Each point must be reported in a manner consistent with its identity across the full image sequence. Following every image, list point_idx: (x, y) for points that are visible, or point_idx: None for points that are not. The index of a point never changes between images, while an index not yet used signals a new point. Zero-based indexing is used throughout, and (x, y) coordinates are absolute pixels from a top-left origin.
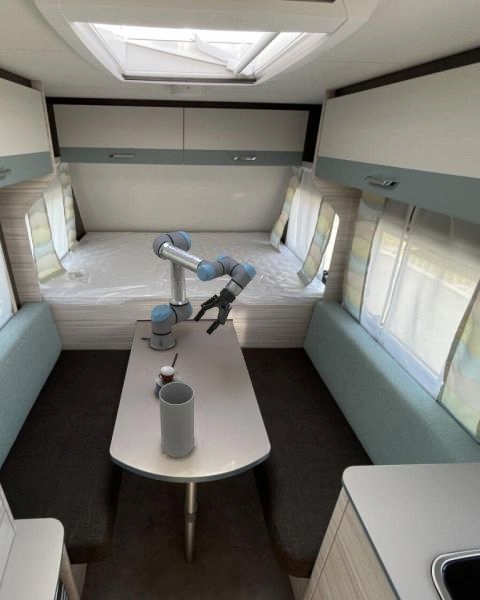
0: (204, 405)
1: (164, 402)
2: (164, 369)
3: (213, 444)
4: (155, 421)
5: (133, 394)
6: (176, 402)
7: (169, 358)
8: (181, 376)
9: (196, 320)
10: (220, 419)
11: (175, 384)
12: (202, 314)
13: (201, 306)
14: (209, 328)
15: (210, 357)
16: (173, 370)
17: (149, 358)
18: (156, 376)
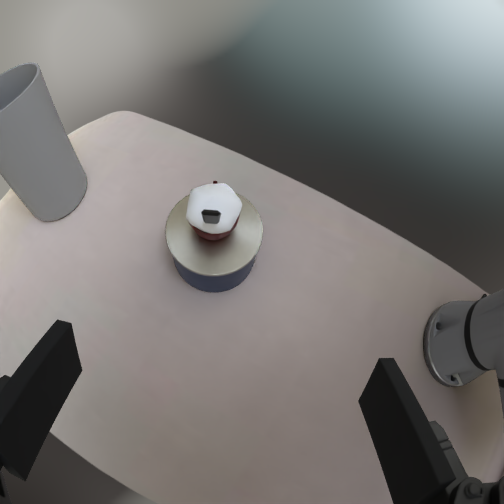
0: (101, 311)
1: (10, 69)
2: (210, 186)
3: (13, 252)
4: (137, 180)
5: (256, 174)
6: (44, 145)
7: (378, 335)
8: (195, 271)
9: (370, 393)
10: (42, 313)
11: (22, 99)
12: (394, 473)
13: (494, 485)
14: (33, 351)
15: (317, 472)
16: (188, 214)
17: (399, 276)
18: (245, 200)
